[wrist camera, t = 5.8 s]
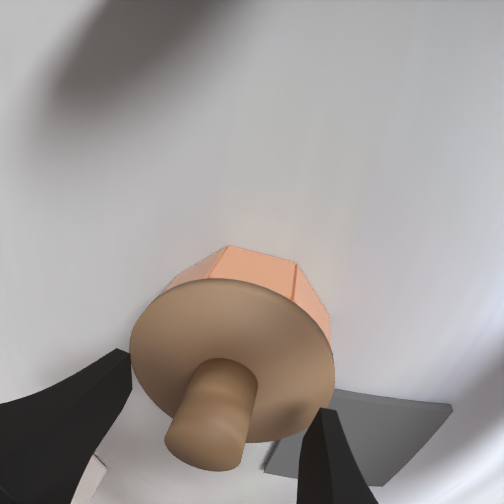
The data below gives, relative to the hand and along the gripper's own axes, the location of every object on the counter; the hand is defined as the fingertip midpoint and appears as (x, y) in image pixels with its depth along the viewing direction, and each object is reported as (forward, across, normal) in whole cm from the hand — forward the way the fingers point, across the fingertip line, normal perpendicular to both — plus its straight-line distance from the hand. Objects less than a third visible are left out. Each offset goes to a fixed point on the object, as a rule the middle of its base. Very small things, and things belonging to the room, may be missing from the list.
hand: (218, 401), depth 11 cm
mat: (+5, -9, +8) cm, 13 cm away
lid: (+2, 0, 0) cm, 2 cm away
